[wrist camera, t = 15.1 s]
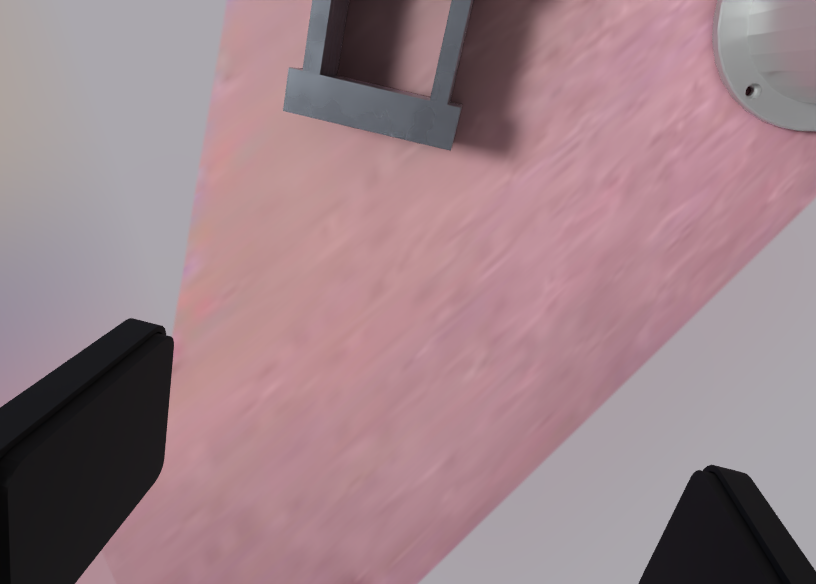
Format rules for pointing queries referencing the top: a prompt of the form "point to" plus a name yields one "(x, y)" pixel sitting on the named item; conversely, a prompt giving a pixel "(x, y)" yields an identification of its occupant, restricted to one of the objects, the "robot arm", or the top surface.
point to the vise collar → (370, 103)
